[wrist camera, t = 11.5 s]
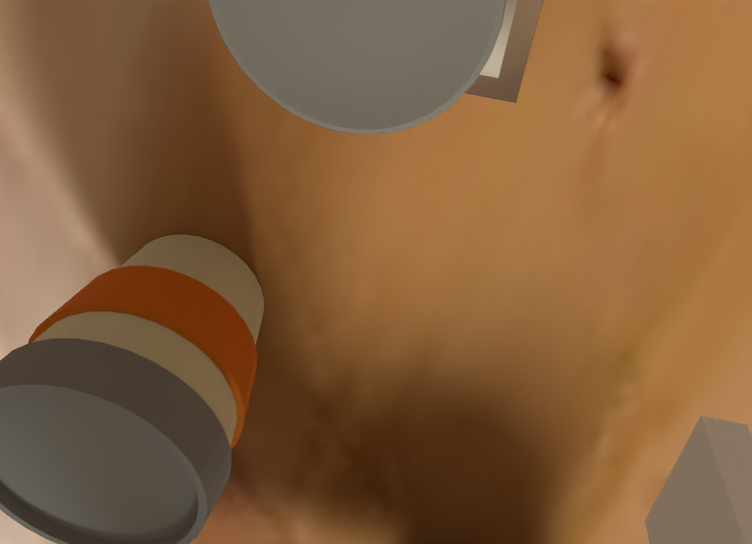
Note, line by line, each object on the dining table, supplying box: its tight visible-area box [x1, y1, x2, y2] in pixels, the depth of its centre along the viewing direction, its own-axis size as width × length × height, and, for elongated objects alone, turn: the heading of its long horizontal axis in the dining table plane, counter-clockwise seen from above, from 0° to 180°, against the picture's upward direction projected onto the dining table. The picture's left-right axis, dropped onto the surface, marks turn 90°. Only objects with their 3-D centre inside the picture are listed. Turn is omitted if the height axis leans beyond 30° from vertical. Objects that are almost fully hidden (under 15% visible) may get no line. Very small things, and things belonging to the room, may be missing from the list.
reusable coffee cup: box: [0, 234, 264, 544], centre depth 39 cm, size 13×13×15 cm
